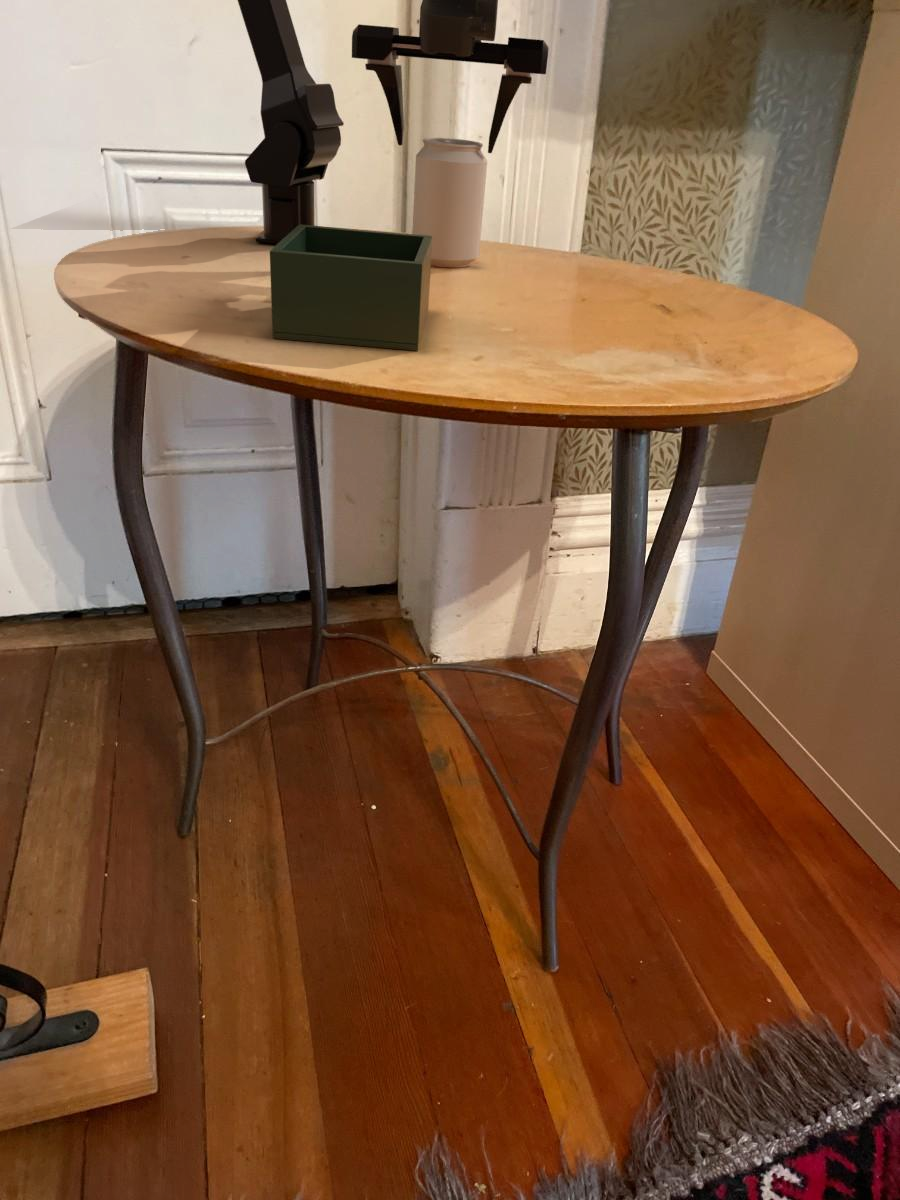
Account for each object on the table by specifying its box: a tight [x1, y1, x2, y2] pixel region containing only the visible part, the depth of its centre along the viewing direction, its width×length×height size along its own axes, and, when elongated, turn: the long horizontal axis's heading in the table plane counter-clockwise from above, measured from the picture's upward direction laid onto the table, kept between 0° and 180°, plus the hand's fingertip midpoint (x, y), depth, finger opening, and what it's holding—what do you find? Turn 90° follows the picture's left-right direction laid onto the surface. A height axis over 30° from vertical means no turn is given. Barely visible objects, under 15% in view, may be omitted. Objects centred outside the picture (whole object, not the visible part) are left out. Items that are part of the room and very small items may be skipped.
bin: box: [269, 224, 433, 352], centre depth 72 cm, size 11×11×6 cm
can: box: [411, 137, 488, 268], centre depth 94 cm, size 8×8×12 cm
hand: (445, 149), depth 91 cm, fingers open, 9 cm apart
